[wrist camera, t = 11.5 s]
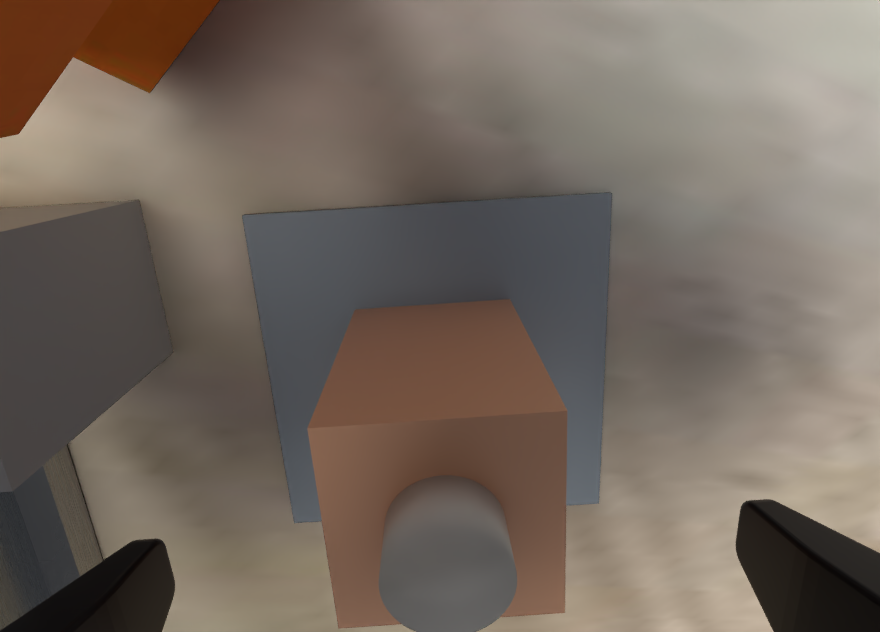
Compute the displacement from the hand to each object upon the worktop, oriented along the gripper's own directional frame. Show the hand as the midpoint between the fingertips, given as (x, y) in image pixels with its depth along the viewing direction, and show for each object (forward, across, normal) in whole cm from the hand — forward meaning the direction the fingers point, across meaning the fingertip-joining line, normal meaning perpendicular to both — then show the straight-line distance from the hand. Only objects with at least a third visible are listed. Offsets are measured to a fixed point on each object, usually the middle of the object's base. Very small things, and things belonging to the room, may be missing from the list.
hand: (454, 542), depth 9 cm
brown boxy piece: (+6, 0, 0) cm, 7 cm away
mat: (+7, 0, 0) cm, 7 cm away
